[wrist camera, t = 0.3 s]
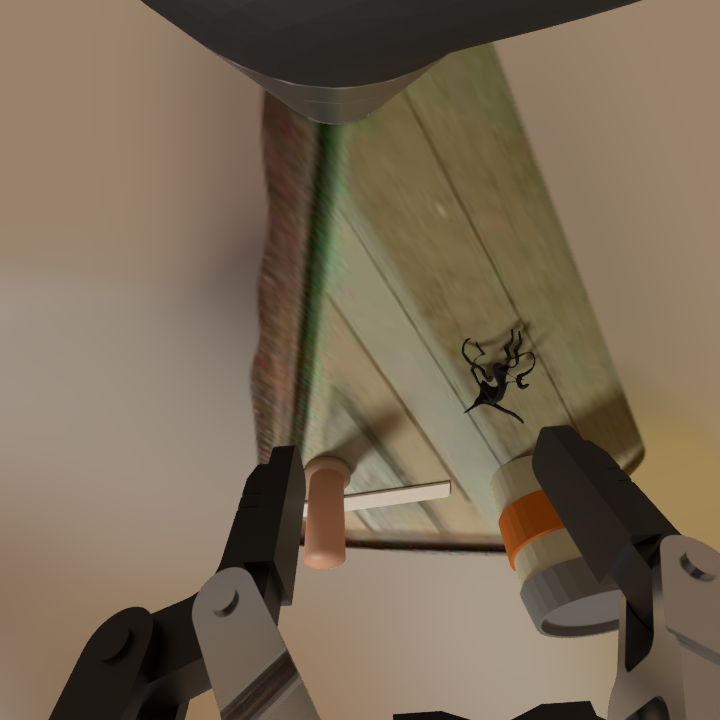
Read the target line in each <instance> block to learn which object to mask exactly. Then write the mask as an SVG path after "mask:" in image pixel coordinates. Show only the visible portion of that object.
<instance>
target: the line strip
mask: <svg viewBox="0 0 720 720" xmlns="http://www.w3.org/2000/svg"><path fill="white" fill-rule="evenodd" d="M449 495H450V483H449V481H448V482H441V483H434V484H427V485H420V486H413V487H406V488H399V489H392V490H385V491H378V492H371V493H364V494H356V495H349V496H344V511H351V510H358V509H365V508H373V507H380V506H387V505H394V504H401V503H408V502H415V501H422V500H430V499H437V498H444V497H449ZM307 509H308V501H307V502H305V503H304V511H303V517H307Z"/></svg>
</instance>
